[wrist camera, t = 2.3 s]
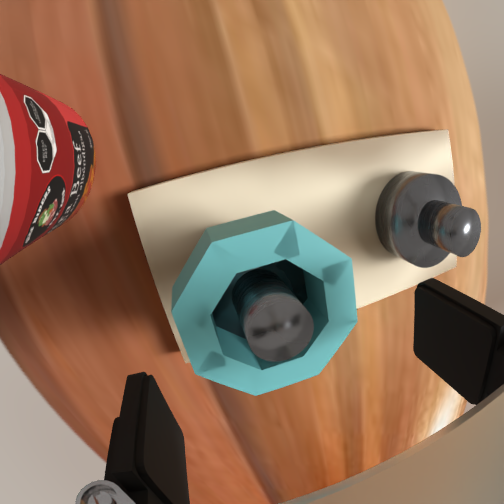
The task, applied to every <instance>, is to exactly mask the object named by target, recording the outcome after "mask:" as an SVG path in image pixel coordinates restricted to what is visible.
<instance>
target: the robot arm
mask: <svg viewBox="0 0 504 504" xmlns="http://www.w3.org/2000/svg"><path fill="white" fill-rule="evenodd" d="M413 349H414V353H415V355H416V356H417V357H418V358H419V359H420V360H421V361H422V362H423V363H425V364H426V365H427V366H428V367H429V368H430V369H431V370H433V371H434V372H435V373H436V374H437V375H438V376H440V377H441V378H442V379H443V380H444V381H445V382H446V383H448V384H449V385H450V386H451V387H452V388H453V389H454V390H456V391H457V392H458V393H459V394H460V395H461V396H462V397H464V398H465V399H466V400H467V401H468V402H469V403H471V404H475V405H476V406H475V407H474V408H472V409H471V410H469V411H468V412H466V413H465V414H463V415H462V416H461V417H459V418H458V419H456V420H455V421H453V422H452V423H450V424H449V425H447V426H446V427H444V428H442V429H441V430H439V431H438V432H436V433H435V434H433V435H431V436H430V437H428V438H426V439H425V440H423V441H421V442H420V443H418V444H416V445H414V446H413V447H411V448H409V449H407V450H405V451H404V452H402V453H400V454H398V455H396V456H394V457H392V458H390V459H388V460H387V461H385V462H383V463H381V464H378V465H376V466H374V467H372V468H370V469H368V470H366V471H364V472H362V473H359V474H357V475H355V476H353V477H350V478H348V479H346V480H343V481H341V482H338V483H336V484H334V485H331V486H328V487H326V488H323V489H321V490H318V491H315V492H313V493H310V494H307V495H304V496H301V497H298V498H295V499H292V500H289V501H286V502H282V503H279V504H504V315H502V314H501V313H499V312H497V311H495V310H493V309H491V308H490V307H488V306H486V305H484V304H482V303H480V302H478V301H477V300H475V299H473V298H471V297H469V296H467V295H465V294H463V293H461V292H459V291H458V290H456V289H454V288H452V287H450V286H448V285H446V284H444V283H442V282H440V281H438V280H436V279H434V278H430V279H427V280H425V281H423V282H420V283H419V284H418V286H417V288H416V290H415V317H414V346H413ZM76 504H190V501H189V491H188V481H187V470H186V458H185V444H184V436H183V433H182V430H181V428H180V427H179V425H178V423H177V421H176V419H175V418H174V416H173V414H172V412H171V410H170V408H169V406H168V404H167V403H166V401H165V399H164V397H163V395H162V393H161V391H160V389H159V387H158V385H157V383H156V381H155V379H154V377H153V376H152V375H147V374H146V373H145V372H141V373H136V374H132V375H128V376H127V380H126V385H125V390H124V395H123V401H122V406H121V411H120V417H117V418H115V420H114V423H113V428H112V433H111V439H110V445H109V451H108V457H107V464H106V471H105V478H104V480H98V481H95V482H91V483H90V484H88V485H86V486H85V487H84V488H83V489H81V491H80V492H79V494H78V495H77V498H76Z"/></svg>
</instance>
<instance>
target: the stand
mask: <svg viewBox="0 0 504 504" xmlns="http://www.w3.org/2000/svg"><path fill="white" fill-rule="evenodd" d="M307 298H308V297H307V291H306V285H305V279H304V274H303V269H302V268H300V267H298V266H297V265H295V264H293V263H292V262H290V261H288V260H286V259H284V260H281V261H278V262H274V263H271V264H267V265H264V266H260V267H257V268H253V269H250V270H246V271H243V272H240V273H236V275H235V276H234V278H233V279H232V281H231V283H230V284H229V286H228V288H227V289H226V291H225V292H224V294H223V296H222V297H221V299H220V301H219V302H218V304H217V305H216V307H215V309H214V310H213V312H212V315H213V318H214V321H215V324H216V326H217V327H219V328H222V329H224V330H226V331H228V332H231V333H233V334H235V335H237V336H240V337H242V338H244V339H247V341H248V344H249V346H250V348H251V350H252V352H253V353H254V354H255V355H256V356H258V357H259V358H261V359H263V360H266V361H271V362H279V361H284V360H288V359H290V358H292V357H294V356H296V355H297V354H299V353H300V352H301V351H302V350H303V349H304V348H305V347H306V346H307V345H308V343H309V342H310V340H311V338H312V335H313V330H314V323H313V319H312V316H311V315H310V313H309V312H308V311H307V309H306V308H305V307H304V306H303V304H304V303H305V301H306V300H307Z"/></svg>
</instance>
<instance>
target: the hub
mask: <svg viewBox="0 0 504 504" xmlns="http://www.w3.org/2000/svg"><path fill="white" fill-rule="evenodd" d="M375 226H376V232H377V235H378V238H379V240H380V242H381V244H382V245H383V247H384V248H385V249H386V250H387V251H388V252H390V253H391V254H393V255H395V256H397V257H399V258H401V259H403V260H405V261H407V262H409V263H411V264H413V265H415V266H417V267H421V268H429V267H433V266H435V265H437V264H439V263H440V262H442V261H443V260H444V259H445V258H446V257H447V256H448V255H449V254H450V253H452V254H455V255H457V256H459V257H465V256H468V255H469V254H470V253H471V252H472V251H473V250H474V249H475V247H476V245H477V243H478V240H479V237H480V232H481V223H480V218H479V215H478V213H477V212H476V211H475V210H474V209H472V208H468V207H464V206H462V204H461V199H460V196H459V193H458V191H457V189H456V187H455V186H454V185H453V183H452V182H451V181H450V180H449V179H447V178H446V177H444V176H442V175H438V174H431V173H423V172H414V171H407V172H402V173H400V174H398V175H396V176H395V177H393V178H392V179H391V180H390V181H389V182H388V183H387V184H386V185H385V187H384V189H383V190H382V192H381V194H380V196H379V199H378V202H377V206H376V212H375Z"/></svg>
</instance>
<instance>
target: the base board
mask: <svg viewBox="0 0 504 504" xmlns="http://www.w3.org/2000/svg"><path fill="white" fill-rule="evenodd" d="M407 171H414V172H423V173H431V174H438V175H442V176H444V177H446V178H447V179H449V180H450V181H451V182H452V183H453V185H454V186H455V184H454V172H453V163H452V154H451V146H450V139H449V132H448V130H429V131H419V132H410V133H402V134H394V135H386V136H378V137H371V138H364V139H358V140H351V141H345V142H339V143H333V144H327V145H321V146H316V147H310V148H305V149H300V150H294V151H289V152H284V153H279V154H275V155H270V156H265V157H261V158H256V159H252V160H247V161H243V162H239V163H234V164H230V165H226V166H222V167H218V168H214V169H210V170H206V171H202V172H198V173H194V174H191V175H187V176H183V177H179V178H176V179H172V180H169V181H165V182H162V183H158V184H155V185H151V186H148V187H145V188H141V189H138V190H135V191H132V192H130V193H128V194H127V195H128V198H129V202H130V205H131V209H132V212H133V216H134V219H135V223H136V226H137V229H138V233H139V236H140V239H141V242H142V246H143V249H144V252H145V255H146V258H147V261H148V264H149V267H150V270H151V273H152V276H153V279H154V282H155V285H156V288H157V290H158V293H159V296H160V299H161V302H162V304H163V307H164V310H165V313H166V315H167V318H168V321H169V323H170V326H171V328H172V331H173V334H174V336H175V339H176V341H177V344H178V346H179V349H180V351H181V354H182V356H183V358H184V361H185V363H189V362H190V360H189V357H188V355H187V352H186V350H185V347H184V345H183V342H182V339H181V337H180V334H179V332H178V329H177V326H176V324H175V321H174V318H173V316H172V313H171V305H172V287H173V285H174V283H175V281H176V280H177V278H178V276H179V274H180V272H181V271H182V269H183V267H184V265H185V264H186V262H187V260H188V258H189V257H190V255H191V253H192V251H193V250H194V248H195V246H196V245H197V243H198V241H199V239H200V238H201V236H202V234H203V233H204V231H205V229H206V228H208V227H212V226H215V225H219V224H223V223H227V222H230V221H234V220H238V219H241V218H245V217H249V216H253V215H257V214H261V213H264V212H268V211H272V210H275V211H277V212H279V213H281V214H283V215H285V216H286V217H288V218H290V219H292V220H294V221H295V222H297V223H298V224H300V225H302V226H303V227H305V228H306V229H308V230H309V231H311V232H312V233H314V234H315V235H317V236H318V237H320V238H322V239H323V240H325V241H326V242H328V243H329V244H331V245H332V246H334V247H335V248H337V249H338V250H340V251H341V252H343V253H344V254H346V255H347V256H349V257H350V258H352V266H353V276H354V286H355V297H356V309H358V308H360V307H363V306H365V305H368V304H371V303H373V302H376V301H378V300H381V299H383V298H386V297H388V296H391V295H393V294H395V293H398V292H400V291H403V290H405V289H407V288H410V287H412V286H415V285H417V284H419V283H420V282H423V281H425V280H427V279H430V278H433V277H435V276H437V275H439V274H442V273H444V272H446V271H448V270H450V269H453V268H455V267H456V262H457V255H455V254H452V253H450V254H449V255H448V256H447V257H446V258H445V259H444V260H443V261H442V262H440V263H439V264H437V265H435V266H433V267H429V268H421V267H417V266H415V265H413V264H411V263H409V262H407V261H405V260H403V259H401V258H399V257H397V256H395V255H393V254H391V253H390V252H388V251H387V250H386V249H385V248H384V247H383V245H382V244H381V242H380V240H379V238H378V235H377V232H376V226H375V212H376V206H377V202H378V199H379V196H380V194H381V192H382V190H383V189H384V187H385V185H386V184H387V183H388V182H389V181H390V180H391V179H392V178H393V177H395V176H396V175H398V174H400V173H402V172H407Z"/></svg>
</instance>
